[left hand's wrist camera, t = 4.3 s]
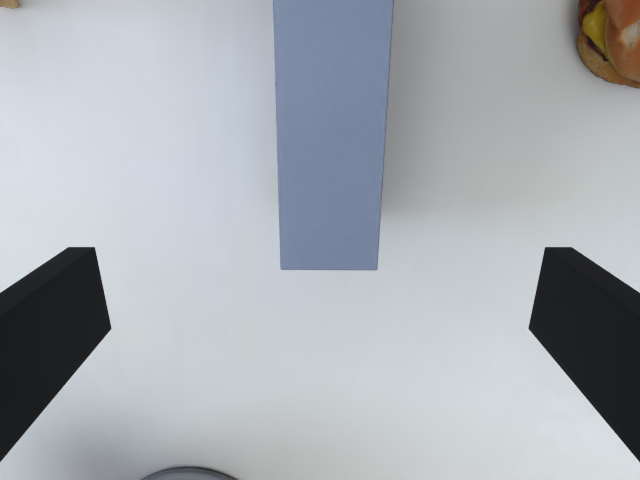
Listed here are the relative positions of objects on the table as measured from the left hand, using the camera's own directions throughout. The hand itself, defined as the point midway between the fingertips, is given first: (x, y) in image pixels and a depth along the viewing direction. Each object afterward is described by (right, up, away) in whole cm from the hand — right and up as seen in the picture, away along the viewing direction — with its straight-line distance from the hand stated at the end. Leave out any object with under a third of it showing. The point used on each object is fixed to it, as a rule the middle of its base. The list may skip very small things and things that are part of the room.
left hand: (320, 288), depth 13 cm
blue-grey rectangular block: (0, +11, +18) cm, 21 cm away
